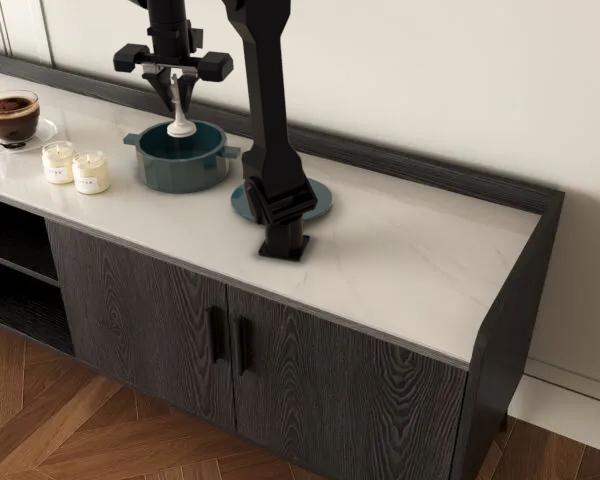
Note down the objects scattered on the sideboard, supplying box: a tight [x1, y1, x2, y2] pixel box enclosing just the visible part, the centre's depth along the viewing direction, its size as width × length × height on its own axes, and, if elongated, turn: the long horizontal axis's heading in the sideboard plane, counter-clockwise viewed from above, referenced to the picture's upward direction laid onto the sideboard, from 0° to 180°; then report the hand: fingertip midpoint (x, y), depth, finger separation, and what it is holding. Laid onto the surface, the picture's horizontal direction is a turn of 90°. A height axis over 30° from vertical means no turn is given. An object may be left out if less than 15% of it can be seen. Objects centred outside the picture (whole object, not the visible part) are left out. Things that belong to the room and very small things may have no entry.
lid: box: [230, 177, 333, 223], centre depth 123 cm, size 17×17×5 cm
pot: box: [122, 119, 242, 194], centre depth 133 cm, size 16×21×6 cm
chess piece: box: [167, 73, 196, 137], centre depth 126 cm, size 5×5×10 cm
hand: (179, 112), depth 127 cm, fingers closed on chess piece
